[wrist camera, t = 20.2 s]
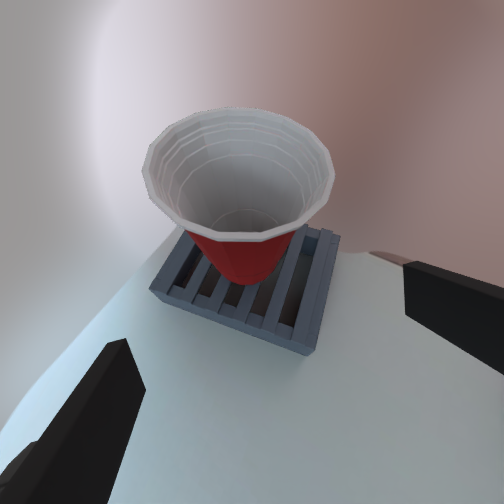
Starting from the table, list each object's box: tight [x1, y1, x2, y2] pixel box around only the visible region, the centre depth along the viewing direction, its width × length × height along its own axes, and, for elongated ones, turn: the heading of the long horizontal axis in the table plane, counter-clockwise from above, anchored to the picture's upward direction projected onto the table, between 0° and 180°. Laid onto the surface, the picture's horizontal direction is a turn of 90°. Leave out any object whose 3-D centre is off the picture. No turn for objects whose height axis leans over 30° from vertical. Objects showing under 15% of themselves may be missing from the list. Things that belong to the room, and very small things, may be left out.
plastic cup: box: [142, 107, 336, 285], centre depth 19 cm, size 11×11×12 cm
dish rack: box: [149, 224, 340, 356], centre depth 25 cm, size 16×12×4 cm
